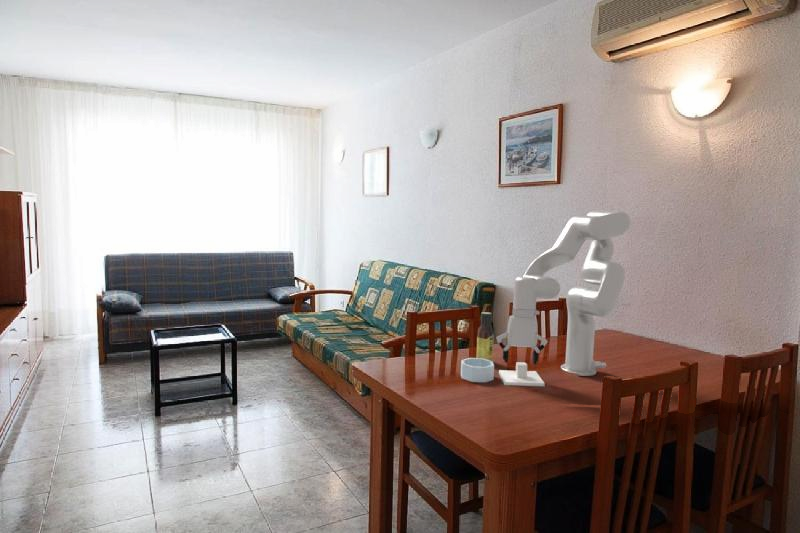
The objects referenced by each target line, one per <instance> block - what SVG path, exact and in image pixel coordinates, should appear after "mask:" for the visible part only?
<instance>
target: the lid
mask: <svg viewBox="0 0 800 533" xmlns="http://www.w3.org/2000/svg"><path fill="white" fill-rule="evenodd" d="M498 372H499V374H500V376H501V378H502V380H503V382H504V384H505V385H522V386H521V387H533V386H546V385H545V382H544V380H543V379H542V378H541V376H540V375H539V374H538V372H537V370H528V364H527V363H526V362H523V361H519V362H518V361H516V362H515V370H507V369H499V370H498ZM499 374H498V375H499ZM500 376H499V377H500ZM501 378H500V379H501ZM502 380H501V381H502ZM503 382H502V383H503ZM504 384H503V385H504Z"/></svg>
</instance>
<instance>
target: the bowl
mask: <svg viewBox="0 0 800 533" xmlns="http://www.w3.org/2000/svg"><path fill="white" fill-rule="evenodd" d="M494 373H495V364H494V362H493V361H490V360H486V359H483V358H476V357H468V358H465V359H461V362H460V377H461V379H462V380H466V381H468V382H471V383H488V382H491V381H494V379H495V378H494V376H495V374H494Z"/></svg>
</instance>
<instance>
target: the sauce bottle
mask: <svg viewBox="0 0 800 533" xmlns="http://www.w3.org/2000/svg"><path fill="white" fill-rule="evenodd" d="M492 315H493V314H492V312H490V311H489V312H487V311H484V312H481V313H480V317H481V318H480V320H481V321H480V326H478V329H477V336H476V355H475V356H476V357H475V358H483V359H486V360H490V361H492V362H493V361H494V343H495V333H494V330H493V326H492Z"/></svg>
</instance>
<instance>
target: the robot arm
mask: <svg viewBox="0 0 800 533" xmlns="http://www.w3.org/2000/svg"><path fill="white" fill-rule="evenodd" d="M630 226H631V217H630V216H629V215H628V213H626V212H625V211H621V210H606V209H605V210H602V209H601V210H600V209H599V210H591V211H588V213H587V214H586V215H585V214H584V215H580V214H579V215H574V216H572V217H570V218H569V220H568V221H567V223H566V225H565V226H564V227H563V228H562V230H561V232H560V234H559V235H558V238H557V239H556V240H555V242H554V244H553V245H552V247H550V248H549V249H548V250H546V251H545V252H544V253H542V254H541V255H539V256H538V257H536V258H535V259H534V260H533V261H532V262H531V263H530V264H529V266H528V268H527V269H526V271H524V272H525V273H523V274H524V275H523V276H518V277H516V278H515V279H514V287H513V288H514V289H513V299H512V300H513V301H512V302H513V303H512V304H513V305H512V312H511V313H512V315H509V318H508V321H507V327H506V331H505V332H504V333H501V334H500V335H497V336H496V337H495V339H496V341H497V343H498V345H499V347H500V348H501V349H502V360H503V361H504V363H508V362H509V349H510V348H511V347H521V348H532V349H533V351H532V358H531V359H532V360H531V362H532V364H534V365H537V362H539V354H540V352H541V351H543V349H545V346H546V345H547V343H549V342H548V340H547V338H545V337H543V336H541V335H539V334H538V332H539V331H538V328H539V327H538V319H537V315H540V313H541V312H540V310H537V308H536V306H537V299H543V300H552V299H554V298H556V297H558V295H559V294H560V292H561V286H560V283H559V281H558V280H557V279H555V278H553V277H549V276H545V275H546V274H547V273H548V272H549V271H550V270H552V269H555V268H557V267H560V266H564V265H566V264H569V263H571V262H573V261H574V260H575V258H576V257H577V255H578V254H579V252H580V250H581V249H582V247H583V245H584V243H585V242H586V241H589V243H590V244H589V247H588V251H587V253H586V256H585V259H584V261H583V265H582V266H581V269H580V274H579V277H580V280H581V281H582V282H583V283H585V284H588V285H591V286H597V287H598V288H595V287H589V286H586V285H585V286H584V285H583V286H582V285H577V286H573V287H571V288H570V289H569V290H568V291H567V294H566V298H565V300H566V301H565V302H566V308H567V329H566V330H567V331H566V343H565V346H566V348H565V361H564V362H565V363H563V364H561V365H560V369H561V370H562V371H564V372H567V373H570V374H573V375H577V376H578V377H590V376H595V375H596V374H597V370H598V368H600V369H606V368H607V363H606V362H601V361H599V360H598V361H596V360H594V345H595V333H596V332H595V331H596V322H595V318H594V317H599V318H606V317H609V316H610V315H611V314H612V313H613V311H614V309H615V308H616V304H617V302H618V299H619V298H620V295H621V291H622V289H623V286H624V283H625V280H626V271H625V268H624V266H623V265H622V264H621V263H620V262H617V261H613V260H612V258H613V255H614V252H615V251H614V250H615V248H614V247H615V246H614V243H613V241H612V239H613V238H615V237H620V236H622V235H624V234H626V233H627V232H628V231H629V229H630ZM593 316H594V317H593ZM503 339H505V342H506V343H503V342H502V340H503ZM538 340H539V341H541V343H540V344H539V345H538V342H539V341H538ZM537 345H538V346H537Z"/></svg>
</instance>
